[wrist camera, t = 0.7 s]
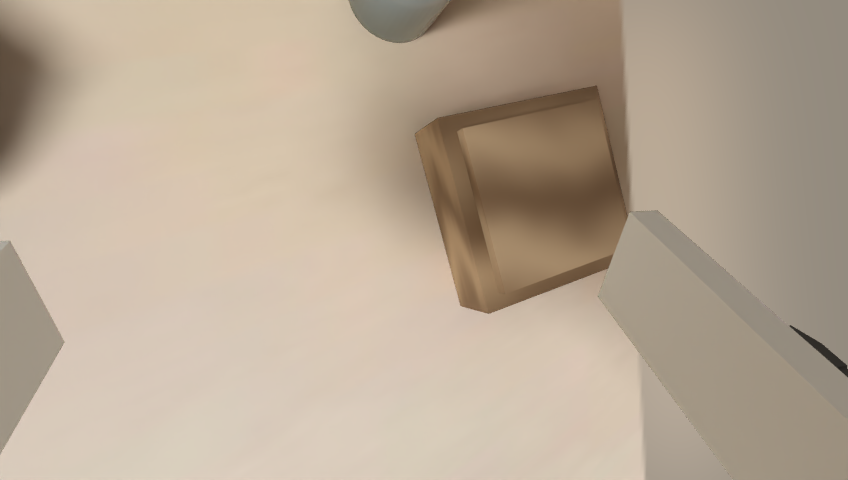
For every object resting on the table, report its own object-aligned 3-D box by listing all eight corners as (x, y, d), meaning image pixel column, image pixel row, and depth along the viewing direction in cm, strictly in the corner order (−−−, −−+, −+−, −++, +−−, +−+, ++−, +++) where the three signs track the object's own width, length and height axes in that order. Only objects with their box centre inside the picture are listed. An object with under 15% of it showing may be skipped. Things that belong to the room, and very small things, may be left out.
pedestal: (414, 134, 31) (442, 114, 26) (559, 103, 35) (605, 81, 30) (460, 306, 32) (495, 315, 27) (596, 256, 36) (646, 257, 31)
